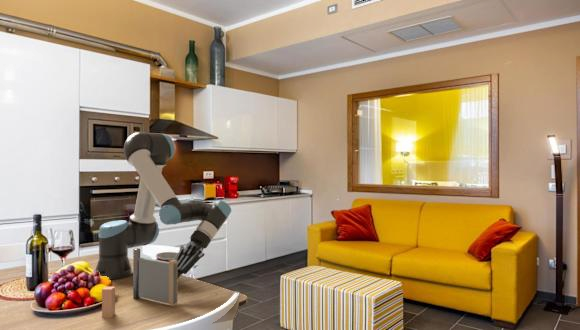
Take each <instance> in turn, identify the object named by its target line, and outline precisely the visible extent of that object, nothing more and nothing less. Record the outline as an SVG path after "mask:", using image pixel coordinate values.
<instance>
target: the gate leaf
mask: <svg viewBox="0 0 580 330" xmlns="http://www.w3.org/2000/svg"><path fill="white" fill-rule="evenodd" d="M139 297H140V298H143V299H147V300H151V301H156V302H159V303H163V304H168V305H170V306H174V305H177V304H178V279H177V260H171V261H169V262H166V261H160V260H157V259H153V258H149V257H148V258H147V257H140V258H139Z"/></svg>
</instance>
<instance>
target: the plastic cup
mask: <svg viewBox="0 0 580 330" xmlns="http://www.w3.org/2000/svg"><path fill="white" fill-rule="evenodd" d="M177 254H178V252H174V251H164V252H159V253H156V254H155V257H156V260H160V261H166V262H169V261H171V260H175V258H176V256H177Z"/></svg>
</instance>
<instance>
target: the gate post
mask: <svg viewBox="0 0 580 330" xmlns="http://www.w3.org/2000/svg"><path fill="white" fill-rule="evenodd" d="M132 249H133V250H132V254H133V256H132V257H133V258H132V261H133V263H132V267H133V268H132V274H133V276H132V278H133V279H132V284H133V285H132V292H133V293H132V299H134V300H138V299H140V298H141V297H139V258H141V248H132Z"/></svg>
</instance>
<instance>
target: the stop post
mask: <svg viewBox="0 0 580 330" xmlns="http://www.w3.org/2000/svg"><path fill="white" fill-rule="evenodd" d="M115 314H116V286H105V287H103V288H102V289H101V317H102V318H112V317H113V316H114V315H115Z"/></svg>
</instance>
